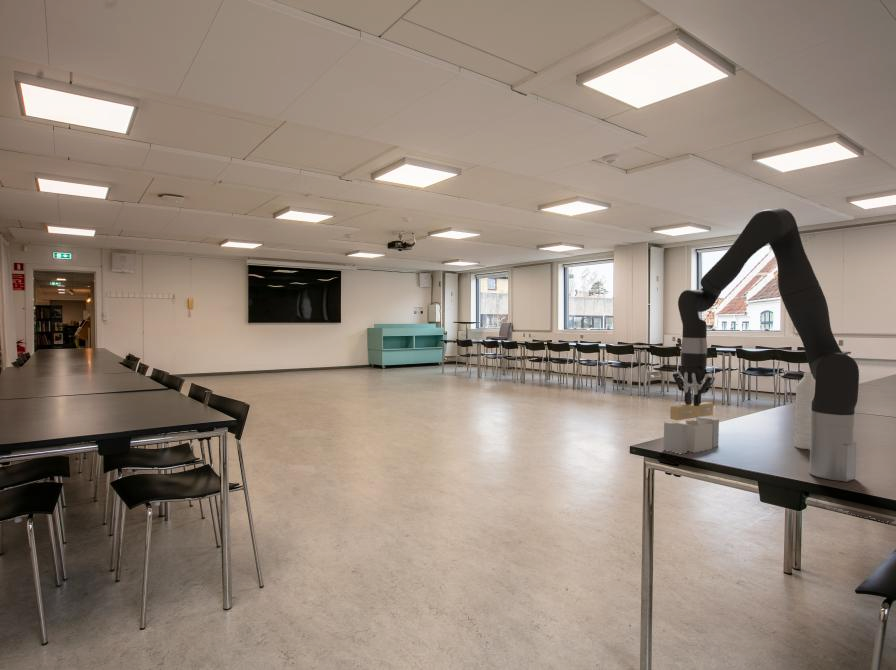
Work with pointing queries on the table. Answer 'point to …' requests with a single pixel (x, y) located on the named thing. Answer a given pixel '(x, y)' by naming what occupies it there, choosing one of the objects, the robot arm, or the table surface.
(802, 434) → the water bottle
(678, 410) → the tan wooden bar
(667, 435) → the notched grey block
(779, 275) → the robot arm
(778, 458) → the table surface
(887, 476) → the table surface
